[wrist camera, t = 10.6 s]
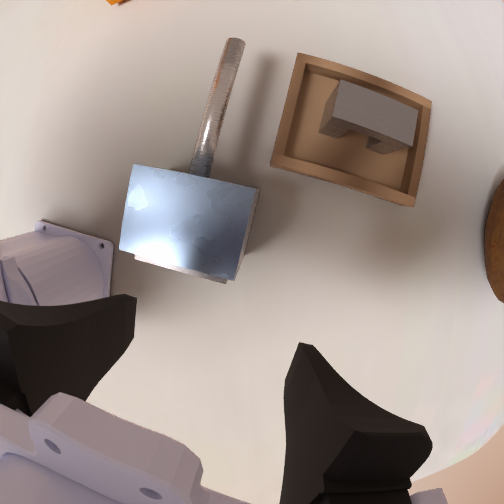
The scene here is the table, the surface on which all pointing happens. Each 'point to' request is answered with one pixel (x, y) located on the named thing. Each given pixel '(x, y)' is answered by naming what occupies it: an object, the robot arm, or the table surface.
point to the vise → (193, 200)
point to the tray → (346, 135)
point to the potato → (495, 244)
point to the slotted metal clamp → (369, 118)
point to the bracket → (113, 1)
